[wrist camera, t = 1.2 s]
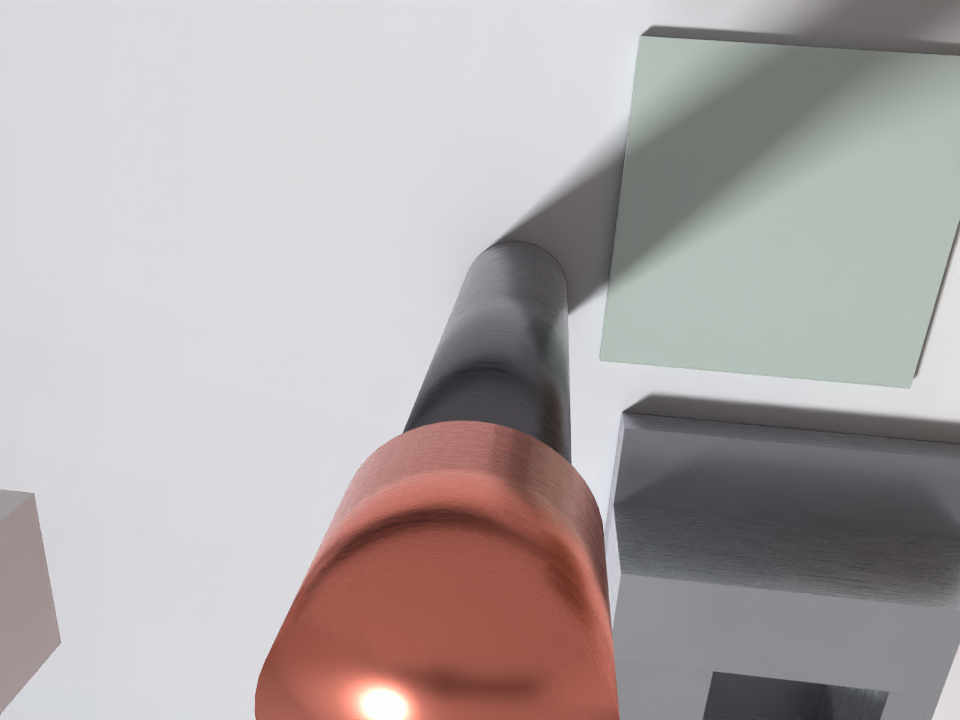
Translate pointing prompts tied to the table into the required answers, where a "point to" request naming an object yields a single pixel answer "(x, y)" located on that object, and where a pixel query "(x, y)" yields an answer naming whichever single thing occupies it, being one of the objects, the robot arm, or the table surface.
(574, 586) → the red capped rod
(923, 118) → the mat
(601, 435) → the table surface
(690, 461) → the grey hollow block
